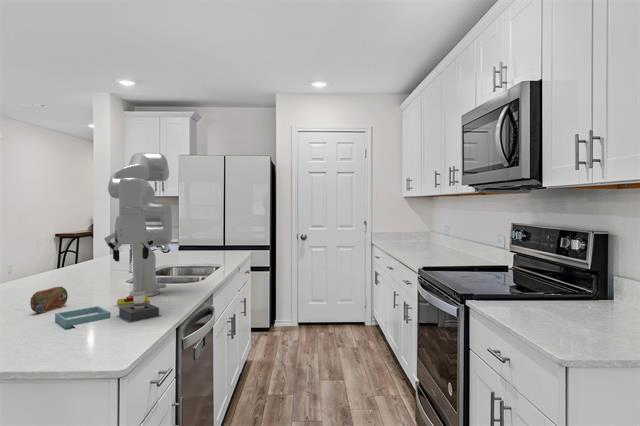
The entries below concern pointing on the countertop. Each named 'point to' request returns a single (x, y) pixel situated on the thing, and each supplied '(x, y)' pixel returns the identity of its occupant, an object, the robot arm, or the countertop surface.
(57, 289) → the tin
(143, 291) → the fuse
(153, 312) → the fuse panel
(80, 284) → the countertop surface
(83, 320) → the parts tray
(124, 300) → the emergency button
